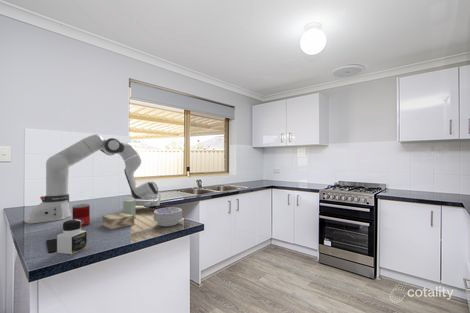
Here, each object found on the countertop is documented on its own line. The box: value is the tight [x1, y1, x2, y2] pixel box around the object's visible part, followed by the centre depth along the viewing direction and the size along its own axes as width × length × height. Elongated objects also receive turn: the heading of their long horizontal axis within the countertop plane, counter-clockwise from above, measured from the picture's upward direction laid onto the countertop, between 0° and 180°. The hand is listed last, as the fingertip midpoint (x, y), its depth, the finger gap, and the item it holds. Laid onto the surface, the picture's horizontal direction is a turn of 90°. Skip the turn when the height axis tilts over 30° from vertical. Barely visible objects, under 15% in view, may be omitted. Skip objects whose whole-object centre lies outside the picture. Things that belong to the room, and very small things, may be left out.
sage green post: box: [122, 199, 136, 219], centre depth 145 cm, size 5×5×11 cm
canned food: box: [71, 203, 91, 228], centre depth 131 cm, size 8×8×11 cm
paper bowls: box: [153, 206, 183, 227], centre depth 132 cm, size 15×15×8 cm
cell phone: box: [45, 237, 57, 254], centre depth 102 cm, size 9×18×1 cm, turn 41°
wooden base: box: [102, 212, 135, 230], centre depth 131 cm, size 12×12×5 cm
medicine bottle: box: [56, 219, 88, 255], centre depth 95 cm, size 7×7×12 cm
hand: (138, 204), depth 156 cm, fingers open, 8 cm apart
